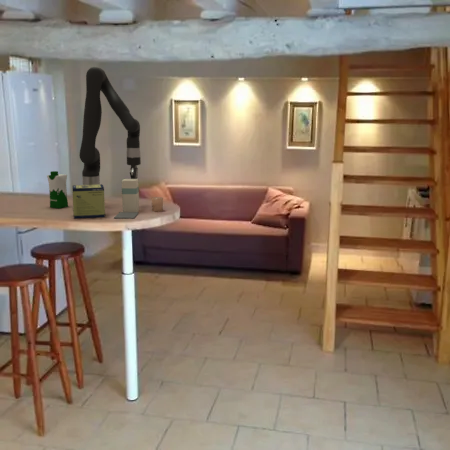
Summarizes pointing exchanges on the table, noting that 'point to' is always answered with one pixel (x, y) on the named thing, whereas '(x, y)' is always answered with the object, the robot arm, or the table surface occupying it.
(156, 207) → the tan small block
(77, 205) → the protein box
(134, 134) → the robot arm
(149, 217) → the table surface
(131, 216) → the mat
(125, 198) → the oat carton
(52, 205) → the milk carton
